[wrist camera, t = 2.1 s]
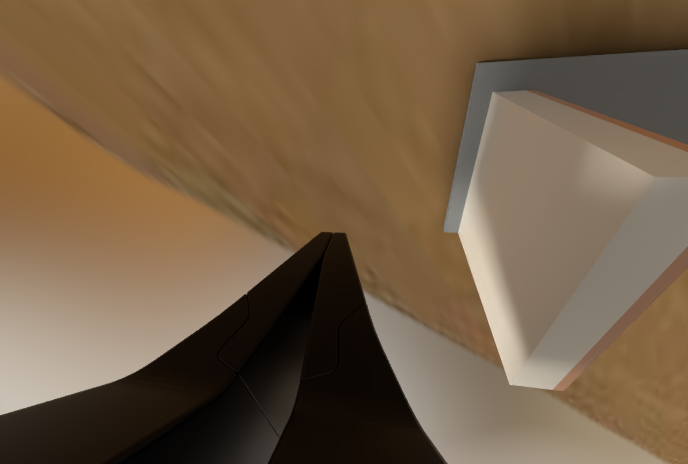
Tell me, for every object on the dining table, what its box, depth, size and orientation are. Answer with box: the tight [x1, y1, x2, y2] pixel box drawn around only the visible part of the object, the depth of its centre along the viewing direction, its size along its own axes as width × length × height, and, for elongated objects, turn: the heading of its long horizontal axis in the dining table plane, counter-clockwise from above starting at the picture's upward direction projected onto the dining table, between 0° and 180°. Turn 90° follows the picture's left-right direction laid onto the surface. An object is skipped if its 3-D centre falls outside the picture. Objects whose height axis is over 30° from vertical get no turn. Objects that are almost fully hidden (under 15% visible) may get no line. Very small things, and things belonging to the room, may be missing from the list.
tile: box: [458, 90, 688, 391], centre depth 9 cm, size 2×7×8 cm, turn 4°
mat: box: [443, 49, 688, 233], centre depth 11 cm, size 10×8×1 cm
